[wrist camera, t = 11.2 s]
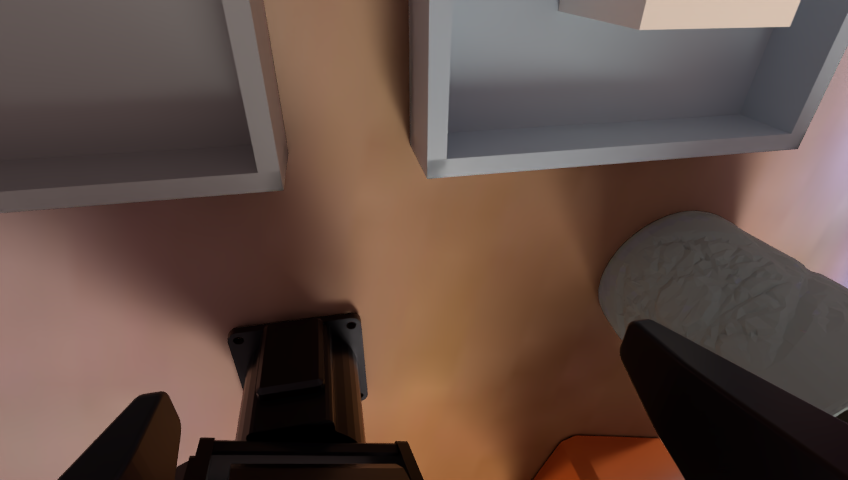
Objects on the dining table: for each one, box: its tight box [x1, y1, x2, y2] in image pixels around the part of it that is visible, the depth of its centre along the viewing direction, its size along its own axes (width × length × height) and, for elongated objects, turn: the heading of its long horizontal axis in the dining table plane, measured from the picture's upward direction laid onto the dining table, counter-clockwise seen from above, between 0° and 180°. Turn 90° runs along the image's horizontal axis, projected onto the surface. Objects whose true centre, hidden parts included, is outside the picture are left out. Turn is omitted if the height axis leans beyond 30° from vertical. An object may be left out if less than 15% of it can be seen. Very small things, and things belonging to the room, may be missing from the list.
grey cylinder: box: [598, 211, 848, 424], centre depth 21 cm, size 10×10×12 cm
